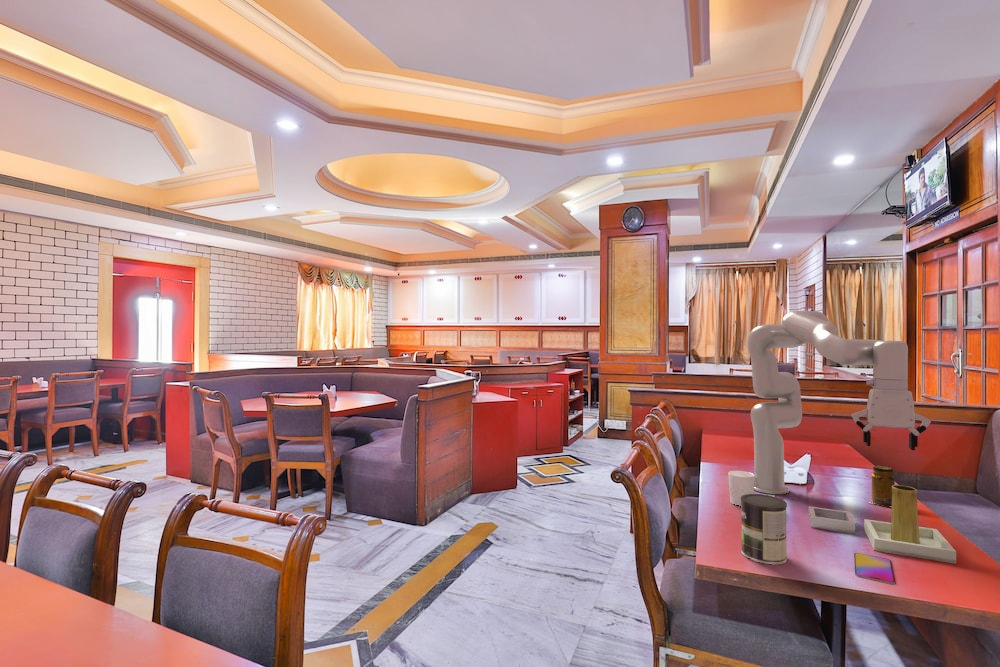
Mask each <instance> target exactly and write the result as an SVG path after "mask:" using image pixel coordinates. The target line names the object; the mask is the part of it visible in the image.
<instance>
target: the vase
mask: <svg viewBox="0 0 1000 667" xmlns="http://www.w3.org/2000/svg"><path fill="white" fill-rule="evenodd" d="M890 523H891V540H895V541H901V542H908V543H915V544H920V538H919V527H920V526H919V518H918V489H917V488H915V487H913V486H908V485H902V484H901V485H900V484H895V485H892V508H891V522H890Z"/></svg>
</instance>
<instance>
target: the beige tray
mask: <svg viewBox="0 0 1000 667" xmlns="http://www.w3.org/2000/svg"><path fill="white" fill-rule="evenodd" d="M863 526H864V527H863V530H864V532H865V534H866V536H867V539H868V540H869V543H870V544H871V546H872V548H873V550H874V551H876V552H882V553H888V554H893V555H900V556H906V557H913V558H917V559H924V560H930V561H931V560H932V561H937V562H943V563H949V564H954V565H956V564H957V551H956V550H955V548H953V546H952V545H951V544H950V543H949V541H948V540H947V539H946V538H945V537H944V535H943V534H942V533H941V532H940V531H939V530H938V529H937V528H931V527H924V526H919V538H920V544H915V543H908V542H901V541H895V540H891V522H890V521H889V522H888V521H882V520H873V519H867V518H866V519H865V518H864V519H863Z"/></svg>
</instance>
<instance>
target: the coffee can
mask: <svg viewBox="0 0 1000 667" xmlns="http://www.w3.org/2000/svg"><path fill="white" fill-rule="evenodd" d="M787 507H788V503H787V501H785V500H783V499H782V498H780V497H777V496H773V495H770V494H769V495H767V494H764V493H763V494H762V493H754V494H746V495H743V496H741V507H740V508H741V551H740V552H741V554H742V555H743V557H745V556H746V557H747V558H746V557H745V558H746V559H748V558H750V559H751V560H750V559H749V560H750V561H752V560H754V561H753V562H755V561H757V562H756V563H758V562H760V563H759V564H762V563H764V565H769V564H772V565H773V566H774V565H775V566H777V565H778V564H779V565H783V563H784V564H786V562H787V561H788V558H787V556H788V555H787ZM772 565H771V566H772ZM779 565H778V566H779Z"/></svg>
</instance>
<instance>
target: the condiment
mask: <svg viewBox="0 0 1000 667" xmlns="http://www.w3.org/2000/svg"><path fill="white" fill-rule="evenodd" d="M872 470H873V471H872V473H871V501H872V502H873V503H875V504H878V505H877V506H879V505H883V506H882V507H887V506H892V485H896V483H895V481H896V480H895V477H894V472H893V471H894V469H893V468H892V467H889V466H882V465H874V466H873V467H872ZM873 503H871V502H870V501H868V502H867V504H872V505H874V504H873ZM887 508H888V507H887ZM890 508H891V509H892V507H889V509H890Z"/></svg>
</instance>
